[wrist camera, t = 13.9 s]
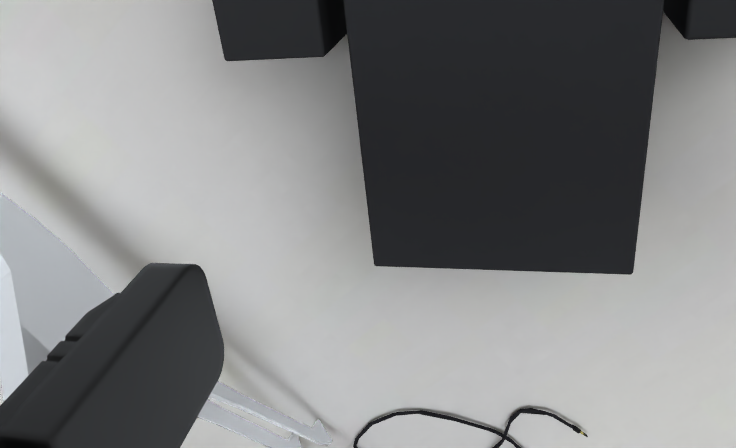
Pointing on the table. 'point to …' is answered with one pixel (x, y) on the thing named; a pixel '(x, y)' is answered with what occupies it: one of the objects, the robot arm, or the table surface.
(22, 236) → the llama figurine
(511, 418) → the headphones
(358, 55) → the pad
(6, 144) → the table surface
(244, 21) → the pad
